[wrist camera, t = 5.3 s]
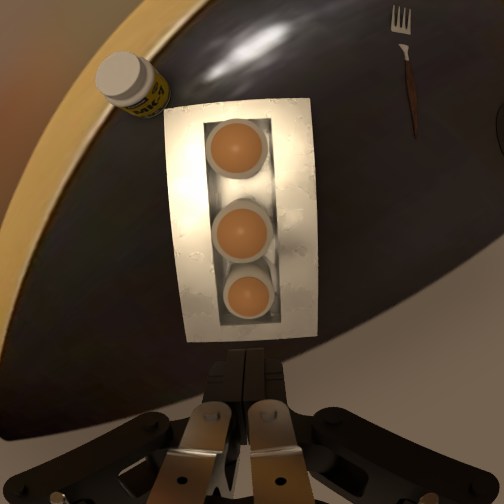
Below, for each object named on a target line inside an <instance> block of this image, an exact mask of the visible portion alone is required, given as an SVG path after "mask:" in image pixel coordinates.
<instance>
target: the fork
mask: <svg viewBox="0 0 504 504" xmlns="http://www.w3.org/2000/svg"><path fill="white" fill-rule="evenodd" d="M410 12H411V9H410V10H409V18H408V27H407V29H405V8H404V14H403V23H402V28H400V6H399V10H398V18H397V26H396V27H395V25H394V5H393V13H392V22H391V30H392V31H394V32H399V33H405V34H411V33H410ZM399 46H400V47H401V49H402V50H403V52H404V56H405V77H406V90H407V95H408V100H409V105H410V110H411V116H412V123H413V130H414V135H415V138H417V92H416V85H415V81H414V77H413V73H412V69H411V65H410V62H409V58H408V48H409V47H408V46H406V45H403V44H399Z"/></svg>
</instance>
